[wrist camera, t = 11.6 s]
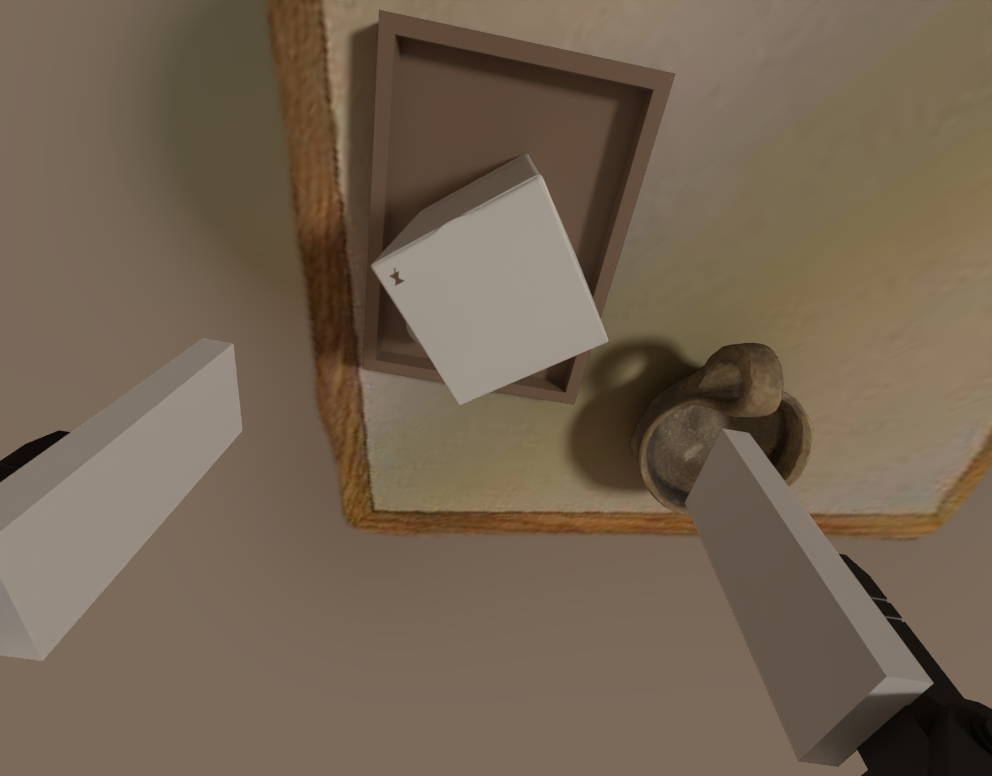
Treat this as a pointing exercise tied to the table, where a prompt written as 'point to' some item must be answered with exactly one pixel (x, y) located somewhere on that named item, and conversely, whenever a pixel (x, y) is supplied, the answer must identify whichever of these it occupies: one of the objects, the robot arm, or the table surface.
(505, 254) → the supplement box
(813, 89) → the table surface
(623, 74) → the tray
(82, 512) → the robot arm
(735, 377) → the bowl
